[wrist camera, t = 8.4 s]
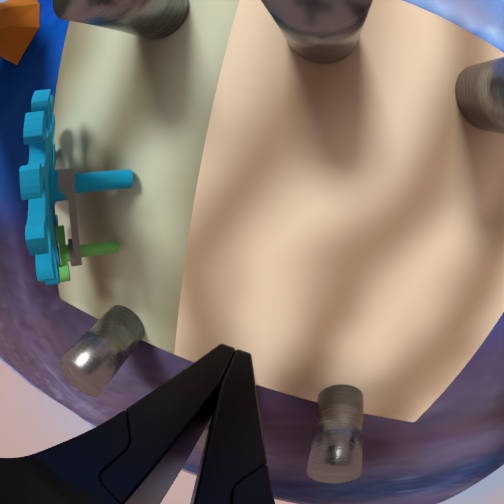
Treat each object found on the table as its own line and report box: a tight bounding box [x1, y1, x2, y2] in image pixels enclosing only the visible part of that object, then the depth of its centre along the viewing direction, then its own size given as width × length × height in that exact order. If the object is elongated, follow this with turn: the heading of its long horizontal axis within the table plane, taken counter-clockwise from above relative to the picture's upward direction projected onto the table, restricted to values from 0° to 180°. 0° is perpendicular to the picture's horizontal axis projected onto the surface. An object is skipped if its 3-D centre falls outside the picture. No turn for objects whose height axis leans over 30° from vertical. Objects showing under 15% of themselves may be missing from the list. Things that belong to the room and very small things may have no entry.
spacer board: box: [53, 0, 504, 422], centre depth 15 cm, size 30×24×1 cm
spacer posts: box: [53, 0, 504, 483], centre depth 13 cm, size 19×23×6 cm
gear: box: [19, 89, 133, 286], centre depth 14 cm, size 11×6×10 cm
